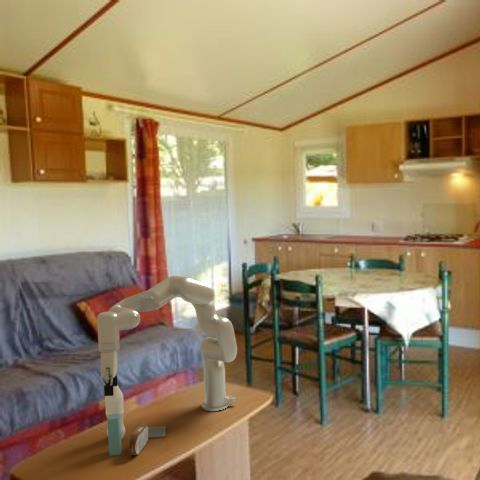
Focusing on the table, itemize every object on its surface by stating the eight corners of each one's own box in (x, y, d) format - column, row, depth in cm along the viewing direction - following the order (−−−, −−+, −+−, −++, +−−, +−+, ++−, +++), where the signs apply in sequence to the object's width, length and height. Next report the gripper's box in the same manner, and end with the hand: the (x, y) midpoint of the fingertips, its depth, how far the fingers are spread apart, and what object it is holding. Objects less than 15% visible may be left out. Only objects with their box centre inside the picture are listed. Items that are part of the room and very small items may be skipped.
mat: (166, 427, 219) (166, 425, 219) (165, 437, 210) (165, 435, 210) (137, 429, 218) (137, 427, 218) (134, 439, 209) (134, 438, 209)
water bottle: (119, 432, 215) (116, 373, 213) (129, 438, 210) (125, 377, 208) (103, 438, 210) (100, 377, 208) (113, 444, 205) (109, 382, 203)
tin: (143, 440, 208) (142, 419, 207) (151, 440, 208) (149, 419, 207) (128, 459, 194) (127, 437, 193) (136, 459, 193) (135, 437, 192)
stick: (121, 449, 201) (119, 414, 200) (120, 454, 197) (118, 418, 196) (111, 450, 201) (108, 414, 199) (109, 455, 197) (107, 419, 195)
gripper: (102, 339, 203) (104, 383, 205) (94, 353, 186) (96, 400, 187) (122, 338, 204) (124, 382, 205) (115, 352, 187) (118, 399, 188)
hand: (111, 390), depth 196 cm, fingers open, 9 cm apart
